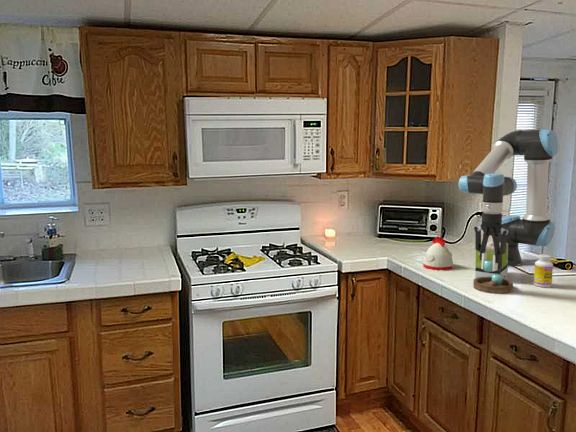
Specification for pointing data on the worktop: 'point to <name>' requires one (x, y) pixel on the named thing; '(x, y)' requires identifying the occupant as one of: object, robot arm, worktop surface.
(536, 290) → the worktop surface
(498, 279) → the teal bead
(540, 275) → the supplement bottle
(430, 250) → the kitchen timer
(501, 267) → the tea box
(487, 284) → the walnut tray
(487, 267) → the teal bead
